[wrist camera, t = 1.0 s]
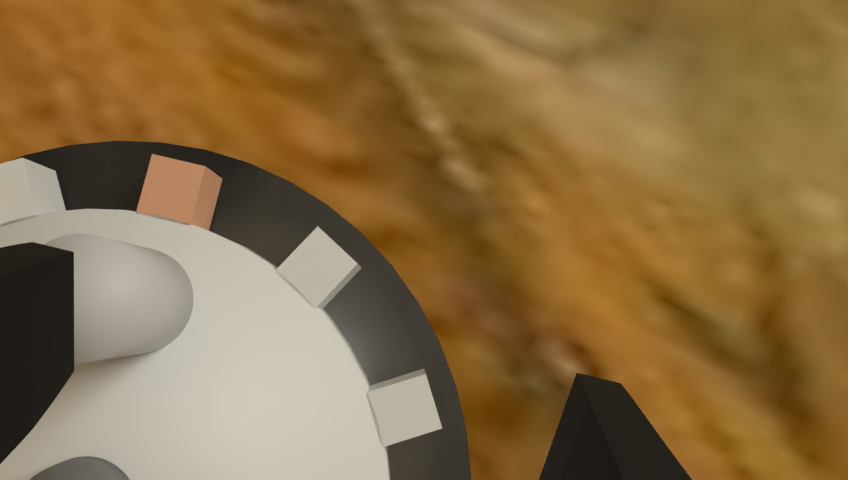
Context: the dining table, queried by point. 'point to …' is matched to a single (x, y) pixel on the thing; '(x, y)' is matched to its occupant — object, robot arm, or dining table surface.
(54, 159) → the wheel base
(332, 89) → the dining table surface
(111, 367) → the sprocket wheel
